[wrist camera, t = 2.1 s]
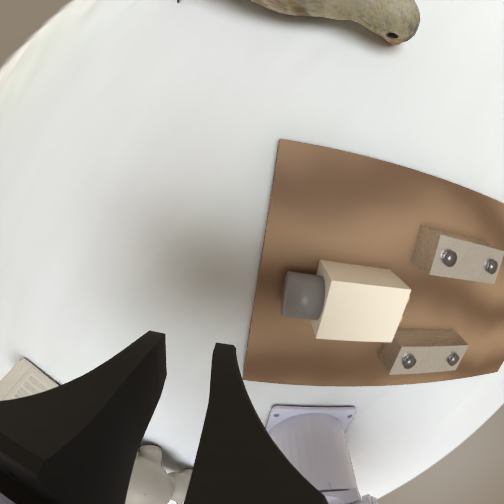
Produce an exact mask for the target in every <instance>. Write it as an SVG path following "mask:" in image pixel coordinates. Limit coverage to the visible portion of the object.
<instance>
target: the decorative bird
mask: <svg viewBox="0 0 504 504" xmlns="http://www.w3.org/2000/svg"><path fill="white" fill-rule="evenodd" d="M250 1H252V2H254V3H256V4H259V5H261V6H263V7H266V8H268V9H271V10H274V11H277V12H279V13H282V14H288V15H293V16H315V17H325V18H330V19H336V20H352V21H354V22H357V23H359V24H361V25H363V26H364V27H366V28H367V29H369V30H371V31H372V32H374V33H376V34H378V35H380V36H381V37H382V38H384V39H385V40H386V41H387V42H389V43H390V44H395V45H397V44H400V43H402V42H405V41H408V40H409V39H410V38H412V37H413V36H414V35H415V33H416V31H417V29H418V26H419V23H420V13H419V9H418V7H417V5H416V3H415V1H414V0H250ZM178 2H179V0H177V3H178Z"/></svg>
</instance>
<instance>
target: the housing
mask: <svg viewBox="0 0 504 504" xmlns="http://www.w3.org/2000/svg"><path fill="white" fill-rule="evenodd" d="M503 255H504V251H503V250H501V249H499V248H497V247H495V246H493V245H491V244H489V243H487V242H484V241H481V240H477V239H473V238H470V237H466V236H462V235H458V234H454V233H450V232H446V231H442V230H438V229H434V228H430V227H426V226H422V225H420V229H419V233H418V237H417V241H416V245H415V249H414V253H413V256H412V260H411V261H412V262H413V263H414V264H416V265H417V266H418V267H420V268H421V269H422V270H424V271H425V272H426V273H428V274H429V275H434V276H441V277H448V278H456V279H463V280H470V281H477V282H484V283H491V284H495V281H496V278H497V275H498V272H499V269H500V266H501V262H502V259H503ZM468 346H469V345H468V344H467V342H466V341H465V340H464V339H463V338H462V337H461V336H460V335H459V334H458V333H457V332H456V331H455V330H454V329H413V328H397V330H396V333H395V335H394V338H393V340H392V342H383V343H382V346H381V348H380V351H379V353H378V356H379V358H380V360H381V362H382V364H383V365H384V367H385V369H386V371H387V373H388V375H400V374H418V373H432V372H443V371H452V370H456V368H457V367H458V365H459V363H460V361H461V359H462V357H463V355H464V354H465V352H466V350H467V348H468Z"/></svg>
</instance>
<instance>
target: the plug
mask: <svg viewBox="0 0 504 504" xmlns="http://www.w3.org/2000/svg"><path fill="white" fill-rule="evenodd" d="M410 292H411V289H410V288H409V287H408V286H407V285H406V284H405V283H404V282H403V281H402V280H401V279H400V278H399V277H398V276H396V275H395V274H394V273H393V272H392V271H391V270H390V269H383V268H375V267H368V266H361V265H354V264H347V263H340V262H332V261H325V260H320V261H319V266H318V270H317V275H313V274H305V273H297V272H290V271H287V273H286V275H285V279H284V283H283V288H282V295H281V316H283V317H292V318H302V319H310V320H311V324H312V327H313V331H314V334H315V337H316V339H328V340H344V341H364V342H392V340H393V338H394V335H395V333H396V330H397V328H398V325H399V323H400V322H401V320H402V318H403V317H402V315H403V312H404V309H405V307H406V304H407V303H408V301H409V299H410V297H409V295H410Z"/></svg>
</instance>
